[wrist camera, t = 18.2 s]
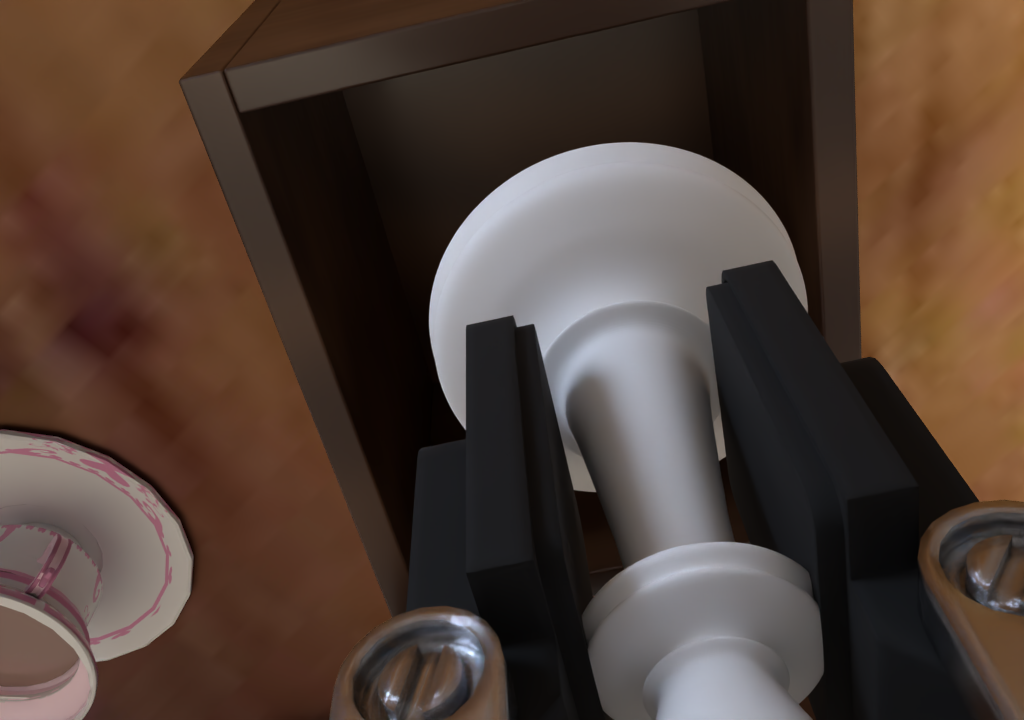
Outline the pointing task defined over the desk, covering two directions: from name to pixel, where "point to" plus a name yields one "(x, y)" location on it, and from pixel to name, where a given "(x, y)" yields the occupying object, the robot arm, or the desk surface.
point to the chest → (495, 181)
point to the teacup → (78, 572)
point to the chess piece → (643, 414)
